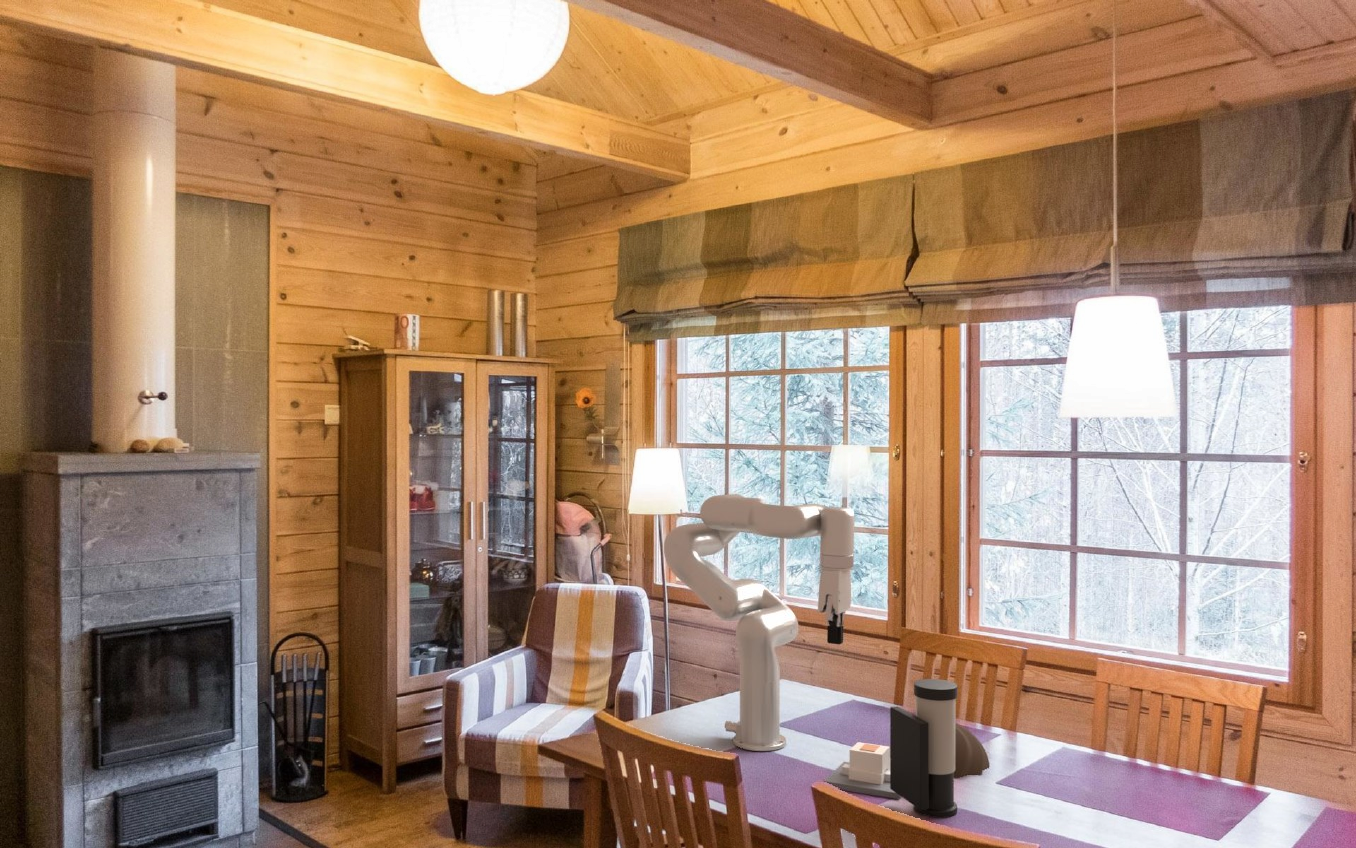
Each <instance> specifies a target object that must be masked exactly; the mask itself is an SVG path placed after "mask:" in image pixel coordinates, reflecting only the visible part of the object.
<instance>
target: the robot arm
mask: <svg viewBox="0 0 1356 848" xmlns="http://www.w3.org/2000/svg"><path fill="white" fill-rule="evenodd" d="M699 516H700V519H701V522H697V523H687V524H683V525H679V526H676V527H674V528H672V529H671V530H670V531H669V532H668V533H667V534H666V536H665V538H664V542H663V554H664V558H665V561H666V564H667V567H668V568H669V569H670V571H671V572H672V574H673V575H674V576H675V577H676V578H677V579H678V580H679V581H681V582H682V583H683V584H684V585H685V586H686V587H688V589H690V590H691V591H692V592H693V593H694V594H695V595H696V596H697V597H698V598H699V599H700V600H701V601H702V602H703V603H704V604H705V605H706V606H707V607H708V608H710V610H712V612H714V614H716V616H718V617H719V618H720V619H721V620H723V621H726V622H732V621H738V623H737V625H736V628H735V638H736V644H737V650H738V656H739V658H738V659H739V660H738V661H739V721H737V722H734V721H731V720H726V721H725V722H724V728H725V731H726V732H728V733H729V732H730V733H734V734H735V735H733V737H732V739H733V740H732V741H733V744H734V745H735V746H736V747H737V746H738V748H739V747H740V749H742V748H743V750H747V751H754V752H755V751H756V752H769V751H770V752H771V751H776V750H779V749H782V748H784V747H785V746H787V745H786V744H787V738H786V736H784V735H782V734H780V733H781V732H780V726H781V725H780V724H781V721H780V719H781V717H780V716H781V715H780V713H781V711H780V710H781V709H780V707H781V703H780V702H781V701H780V698H781V697H780V696H781V695H780V693H781V691H780V686H781V683H780V681H781V679H780V678H781V677H780V676H781V673H780V670H781V669H780V663H779V660H778V656H777V653H776V650H775V648H777V647H780V646H784V645H786V644H789V643H791V642H792V641H794V640H795V638H796V637H797V636H798V633H799V622H798V619H797V615H795V613H794V612H793V610H792V609H791V608H790V606H788V605H787V604H786V603H784V602H783V601H782V599H780V598H779V597H778V596H777V595H775V593H773V592H772V591H771V590H770V589H769V588H768V587H767V586H765V585H764V584H763V583H762V582H760V581H758V580H756V579H753V578H741V579H732V578H730V577H728V576H727V575H726V574H725V573H723V571H722V570H721V569H720V568H718V566H716V565H714V564H713V563H712V562H710V561H708V560H706V559H705V558H702V557H706V556H712V555H716V554H717V553H719V552H721V551H722V550H723V549H724V548H726V546H727V545H728V544H729V543H730V542H731V541H732V540H733V539H734V538H735V537H737V536H738V534H739V533H747V534H754V535H757V536H762V537H767V538H777V539H785V540H799V539H804V538H805V539H806V538H812V537H820V542H819V545H820V547H819V569H820V577H819V585H818V586H819V588H818V600H817V612H819V613H820V614H822V613H825V621H826V624H827V635H826V636H827V637H826V638H827V639H826V640H827V643H828V644H833V645H840V646H841V645H842V644H843V643H844V624H845V623H844V621H845V614H846V612H847V610H849V609H850V607H851V601H852V579H851V577H852V576H851V575H852V574H851V571H853V570H854V565H855V564H854V557H855V556H854V555H855V554H854V552H855V551H854V550H855V513H854V510H853V509H852V508H849V507H843V506H842V507H841V506H826V505H823V504H819V503H808V504H798V505H776V504H767V503H766V502H765V501H764V499H761V498H759V497H745V496H743V495H741V494H737V493H729V494H717V495H713V496H710V497H708V498H707V499H705V500H704V501H703V502H702V504H701V507H700V510H699Z"/></svg>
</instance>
